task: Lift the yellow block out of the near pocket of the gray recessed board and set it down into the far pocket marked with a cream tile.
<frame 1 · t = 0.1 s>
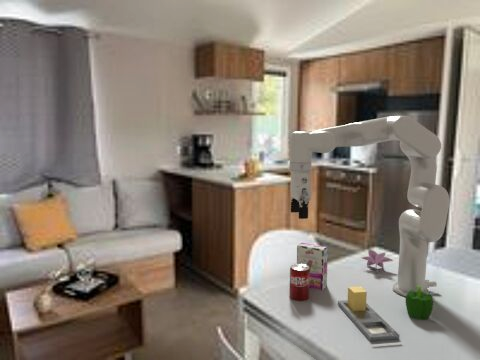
hand: (299, 215, 139), 31 cm above the table, tool pointing down, fingers open, 9 cm apart
gray recessed board: (365, 322, 126), on the table
candy bar box: (311, 286, 154), on the table
yellow block: (356, 310, 133), point 1 cm above the table, touching gray recessed board
soda can: (299, 298, 143), on the table
lily: (376, 270, 172), on the table
bell pepper: (418, 317, 130), on the table
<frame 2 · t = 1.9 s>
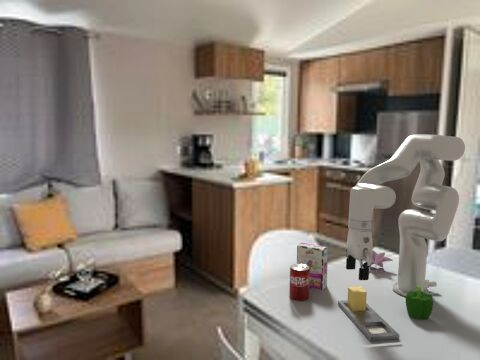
hand: (356, 274, 131), 14 cm above the table, tool pointing down, fingers open, 9 cm apart
nothing on the table moved.
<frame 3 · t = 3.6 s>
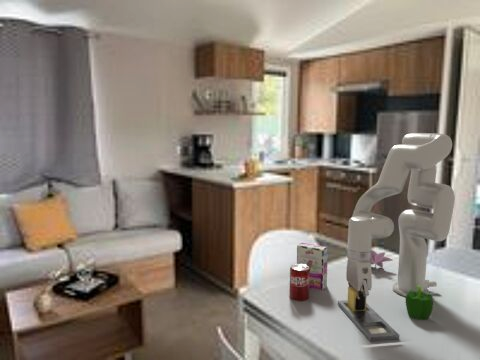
hand: (356, 305, 133), 2 cm above the table, tool pointing down, fingers closed on yellow block, 4 cm apart
yellow block: (356, 310, 133), point 1 cm above the table, touching gripper, gray recessed board
everything else where it was.
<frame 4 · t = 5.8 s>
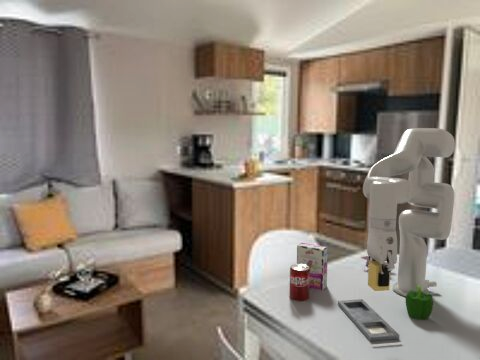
hand: (378, 281, 117), 16 cm above the table, tool pointing down, fingers closed on yellow block, 4 cm apart
yellow block: (378, 287, 117), point 15 cm above the table, touching gripper
everything else where it was.
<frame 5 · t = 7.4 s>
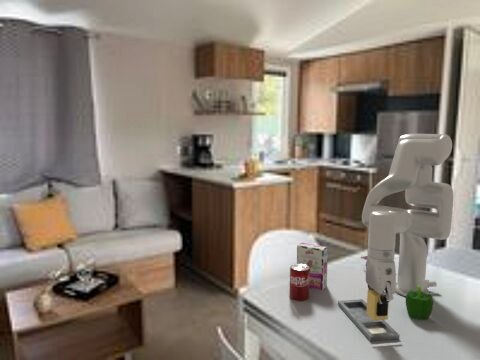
hand: (377, 310, 118), 7 cm above the table, tool pointing down, fingers closed on yellow block, 4 cm apart
yellow block: (376, 316, 118), point 6 cm above the table, touching gripper
everything else where it was.
when the fingers open (3 cm above the table, at t = 8.5 s): yellow block drops 1 cm, resting on gray recessed board.
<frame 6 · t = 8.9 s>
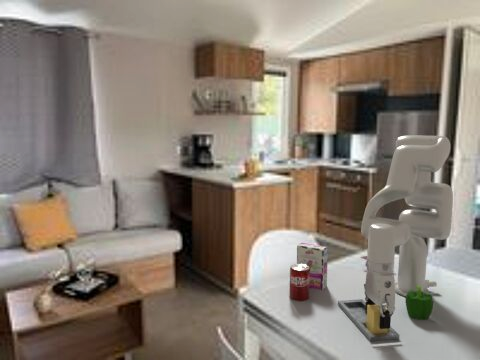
hand: (377, 320, 119), 4 cm above the table, tool pointing down, fingers open, 8 cm apart
yellow block: (376, 331, 119), point 1 cm above the table, touching gray recessed board
everything else where it was.
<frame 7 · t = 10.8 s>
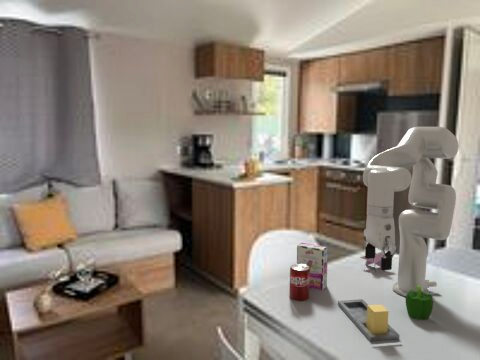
hand: (377, 263, 122), 20 cm above the table, tool pointing down, fingers open, 9 cm apart
nothing on the table moved.
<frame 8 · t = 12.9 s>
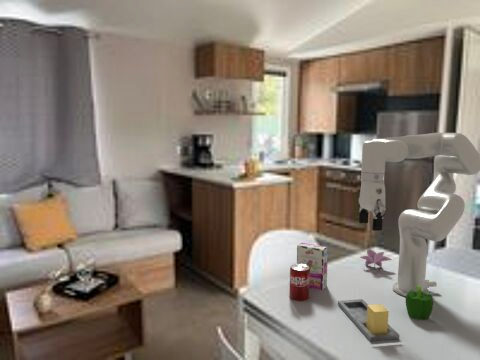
hand: (370, 226, 135), 28 cm above the table, tool pointing down, fingers open, 9 cm apart
at the end: yellow block 0.1 cm from the target spot on the gray recessed board, point 0.7 cm above the gray recessed board's base; yellow block tilted 0°; the gripper is holding nothing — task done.
